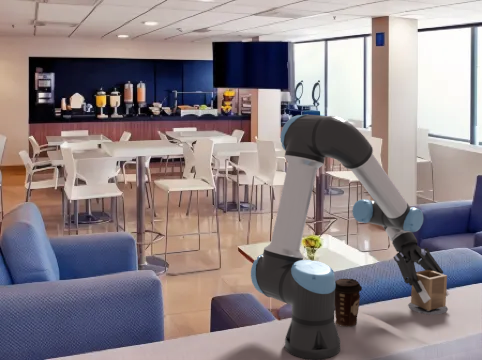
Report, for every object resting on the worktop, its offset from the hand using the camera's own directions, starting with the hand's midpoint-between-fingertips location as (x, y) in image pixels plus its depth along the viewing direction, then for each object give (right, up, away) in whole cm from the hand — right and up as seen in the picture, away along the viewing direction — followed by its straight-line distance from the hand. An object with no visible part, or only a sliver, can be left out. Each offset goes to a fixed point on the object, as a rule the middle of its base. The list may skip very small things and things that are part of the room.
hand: (436, 298), depth 186 cm
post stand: (-2, -5, +4) cm, 6 cm away
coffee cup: (-29, -7, -5) cm, 30 cm away
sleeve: (-2, -3, +3) cm, 5 cm away
